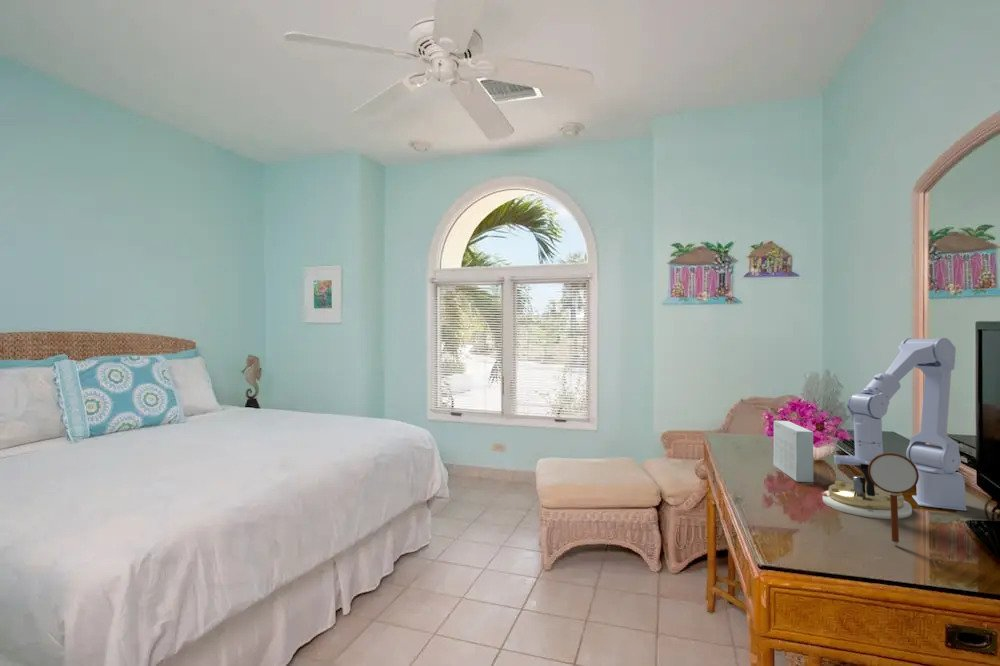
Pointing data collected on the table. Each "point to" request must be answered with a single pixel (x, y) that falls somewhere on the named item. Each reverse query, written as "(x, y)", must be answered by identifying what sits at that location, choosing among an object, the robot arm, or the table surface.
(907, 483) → the magnifying glass
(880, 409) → the robot arm
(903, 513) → the disc
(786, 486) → the table surface
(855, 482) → the brass round mechanism
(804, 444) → the skincare box
